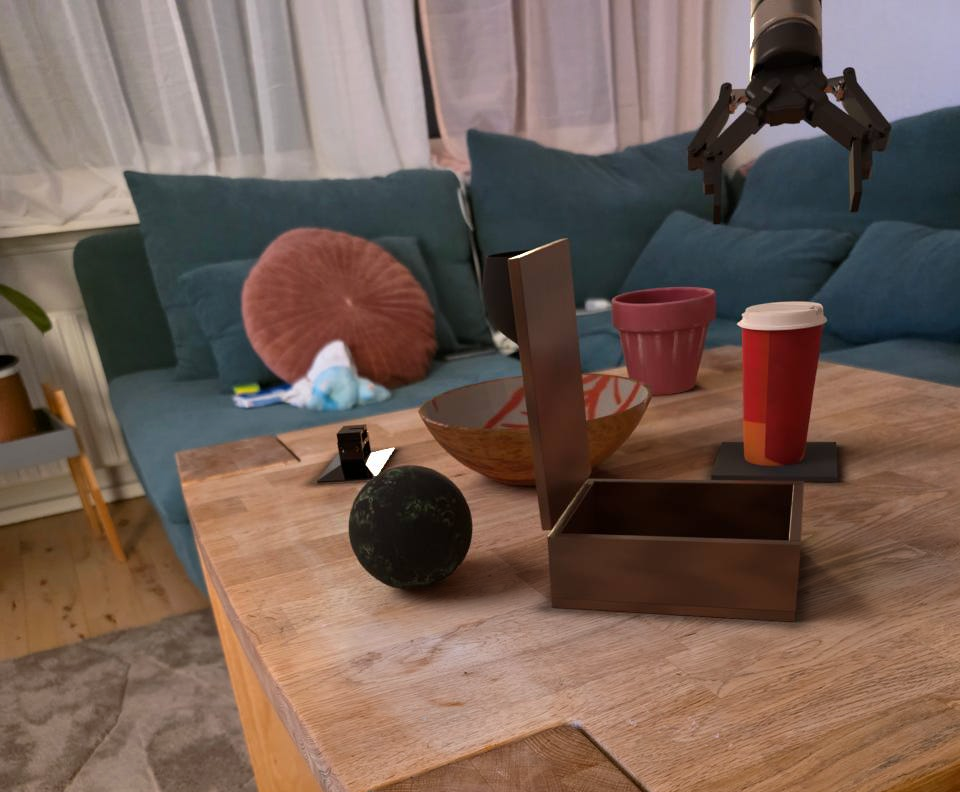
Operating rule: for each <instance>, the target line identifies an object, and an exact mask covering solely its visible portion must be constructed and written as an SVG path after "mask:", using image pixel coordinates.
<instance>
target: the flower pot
mask: <svg viewBox="0 0 960 792" xmlns="http://www.w3.org/2000/svg"><path fill="white" fill-rule="evenodd" d="M716 308H717V292H716V291H715V289H711V288H706V287H698V286H697V287H696V286H670V287H668V286H667V287H656V288H647V289H641V290H640V289H639V290H635V291H629V292H624V293H622V294H618V295H616V296H614V297H613V298H612V299H611V324H612V327H613V328H614V329H617V330H618V334H619V340H620V345H621V349H622V350H621V351H622V354H623V358H624V363H625V368H626V372H627V377H628V378H631V379H634V380H637V381H641V382H643V383H645V384H647V385H648V386H650V387H651V389H652V390H653V395H654V396H657V395H658V396H660V395H661V396H662V395H672V394H679V393H682V392H686V391H689V390H691V389H693V388H694V387H695V386H696V381H697V377H698V373H699V369H700V366H701V362H702V357H703V353H704V348H705V344H706V340H707V334H708V330H709V325H710V323H712V322H714V321H715V319H716V312H717V311H716V310H717V309H716ZM653 395H652V396H653Z"/></svg>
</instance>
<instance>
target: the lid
mask: <svg viewBox="0 0 960 792" xmlns="http://www.w3.org/2000/svg"><path fill="white" fill-rule="evenodd" d="M570 247H571V246H570V240H569V238H567V237H566V238H560V239H557V240H554V241H552V242H549V243H547V244H544V245H542V246H539V247H536V248H534V249H530V250H531V251H528V252H526V253H523V254H521V255H518V256H516V257H513V258H510V259H508V267H509V274H510V282H511V290H512V298H513V306H514V314H515V322H516V330H517V338H518V345H517V346H519V347H518V352H519V361H520V368H521V376H522V377H523V385H524V393H525V401H526V409H527V417H528V425H529V433H530V441H531V448H532V456H533V464H534V472H535V480H536V486H535V487H536V495H537V502H538V503H537V504H538V510H539V511H538V512H539V517H540V518H539V519H540V526H541V531H543V532H544V531H545V532H546V531H552V530H553V528H554V527H555V525H556V524H557V522H558V521H559V519H560V518H561V516H562V515H563V514H564V512H565V511H566V509H567V508H568V506H569V505H570V503H571V502H572V501H573V499H574V498H575V496H576V495H577V493H578V492H579V490H580V489H581V487H582V486H583V485H584V483H585V482H586V480H587V479H589V477H590V475H591V474H592V469H591V463H590V453H589V442H588V432H587V422H586V411H585V401H584V391H583V381H582V373H583V372H582V371H583V370H582V362H581V361H582V360H581V352H580V350H581V349H580V341H579V340H580V339H579V331H578V319H577V310H576V309H577V308H576V300H575V299H576V298H575V288H574V279H573V268H572V258H571V248H570Z"/></svg>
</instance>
